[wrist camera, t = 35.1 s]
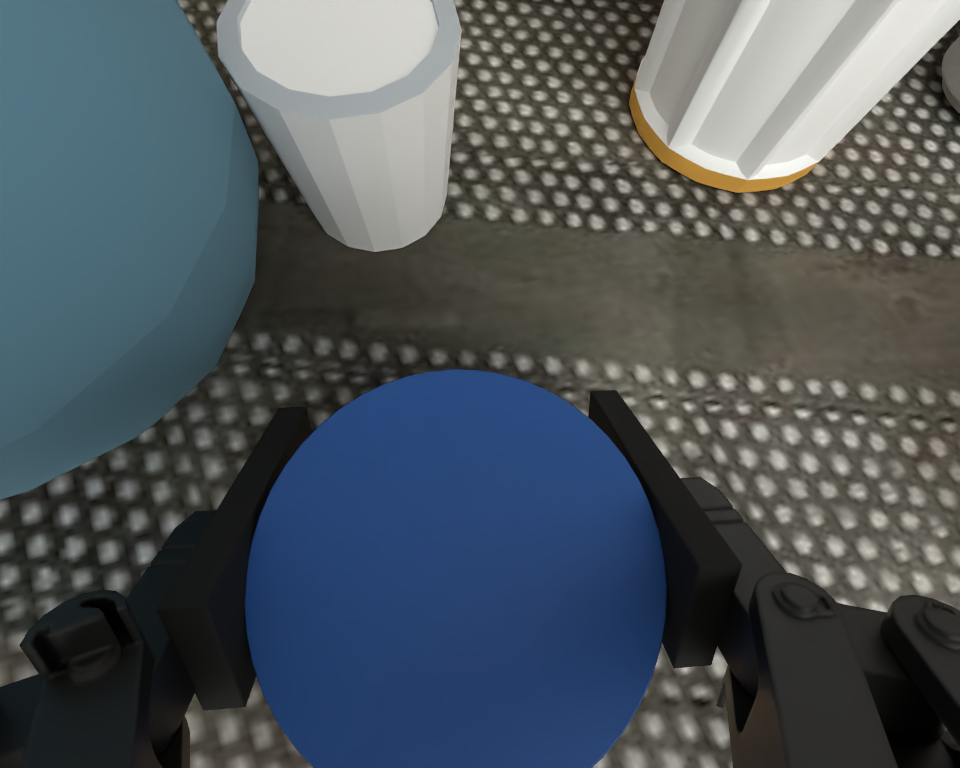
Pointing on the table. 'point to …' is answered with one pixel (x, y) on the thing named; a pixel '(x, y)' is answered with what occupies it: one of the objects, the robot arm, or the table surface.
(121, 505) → the table surface
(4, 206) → the vase
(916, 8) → the cup
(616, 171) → the table surface
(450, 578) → the jar lid
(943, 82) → the beverage can
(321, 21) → the shot glass
